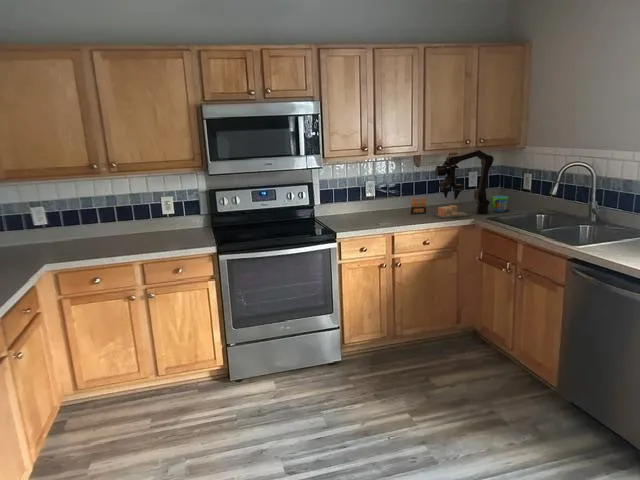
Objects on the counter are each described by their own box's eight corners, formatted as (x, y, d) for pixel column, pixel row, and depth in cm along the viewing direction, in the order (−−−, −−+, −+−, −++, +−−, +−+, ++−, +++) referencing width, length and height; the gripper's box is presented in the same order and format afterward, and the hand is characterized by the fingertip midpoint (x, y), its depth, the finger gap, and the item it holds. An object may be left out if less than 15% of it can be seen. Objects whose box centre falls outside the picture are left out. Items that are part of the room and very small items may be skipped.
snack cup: (501, 208, 361) (502, 194, 359) (513, 210, 352) (514, 196, 350) (485, 211, 354) (486, 197, 351) (497, 213, 345) (498, 198, 342)
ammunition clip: (410, 214, 356) (410, 197, 353) (410, 213, 358) (410, 197, 355) (426, 213, 356) (426, 196, 353) (425, 213, 357) (425, 196, 354)
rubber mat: (461, 213, 353) (461, 211, 352) (469, 215, 342) (469, 214, 342) (434, 215, 349) (434, 214, 349) (441, 218, 338) (441, 217, 338)
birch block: (451, 205, 348) (438, 207, 342) (457, 206, 343) (443, 208, 338) (451, 213, 349) (438, 215, 344) (457, 214, 344) (443, 216, 339)
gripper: (432, 175, 343) (432, 198, 347) (451, 177, 327) (451, 201, 331) (445, 173, 348) (444, 196, 352) (464, 176, 332) (463, 199, 336)
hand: (450, 198), depth 342 cm, fingers open, 9 cm apart
